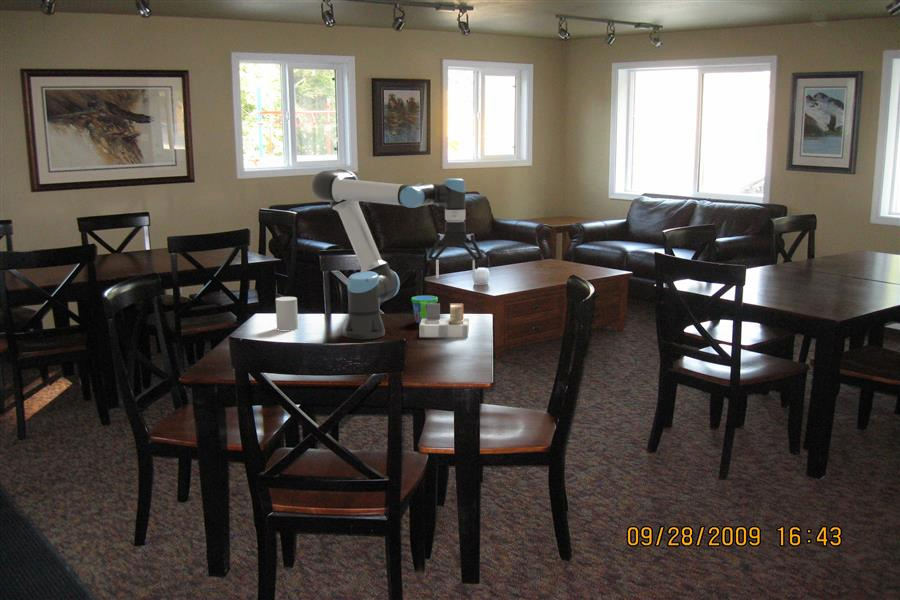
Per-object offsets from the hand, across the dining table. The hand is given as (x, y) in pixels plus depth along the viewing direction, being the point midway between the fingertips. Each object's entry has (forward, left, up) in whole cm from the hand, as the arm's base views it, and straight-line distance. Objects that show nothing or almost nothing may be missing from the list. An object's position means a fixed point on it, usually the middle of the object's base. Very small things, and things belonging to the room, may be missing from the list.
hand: (455, 277), depth 314 cm
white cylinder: (-66, +8, -22) cm, 70 cm away
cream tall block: (0, 0, -22) cm, 22 cm away
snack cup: (-13, +20, -22) cm, 33 cm away
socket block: (-4, +1, -22) cm, 22 cm away
